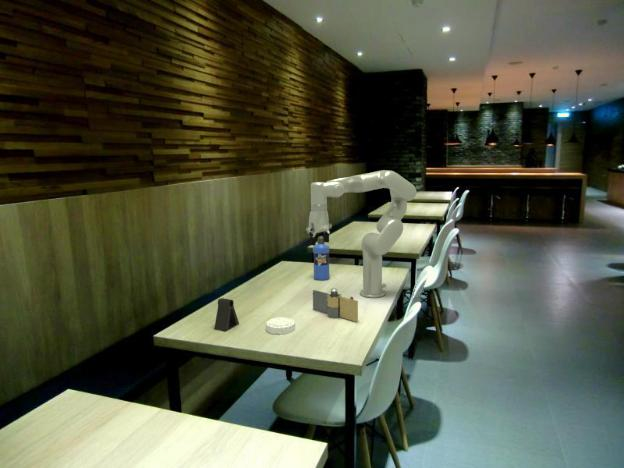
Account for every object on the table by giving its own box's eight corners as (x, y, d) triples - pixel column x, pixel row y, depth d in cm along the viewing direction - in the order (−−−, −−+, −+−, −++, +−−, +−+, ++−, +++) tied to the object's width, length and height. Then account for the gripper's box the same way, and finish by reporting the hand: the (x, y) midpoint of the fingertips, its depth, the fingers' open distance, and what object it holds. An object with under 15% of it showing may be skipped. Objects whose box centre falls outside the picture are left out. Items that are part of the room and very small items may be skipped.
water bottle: (329, 280, 250) (329, 237, 245) (313, 281, 250) (312, 237, 246) (329, 276, 259) (328, 234, 255) (313, 276, 259) (312, 235, 255)
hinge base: (318, 307, 204) (318, 288, 203) (344, 315, 194) (344, 295, 192) (309, 311, 200) (308, 291, 198) (335, 319, 189) (335, 298, 188)
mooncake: (288, 336, 172) (288, 328, 172) (261, 333, 176) (260, 324, 176) (299, 325, 183) (299, 317, 183) (273, 322, 187) (273, 314, 187)
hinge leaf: (333, 311, 198) (333, 292, 197) (361, 319, 188) (361, 299, 186) (324, 315, 194) (324, 295, 192) (352, 323, 183) (352, 303, 182)
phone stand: (225, 331, 178) (224, 303, 176) (214, 329, 181) (212, 301, 179) (239, 324, 186) (238, 297, 184) (228, 322, 188) (226, 295, 186)
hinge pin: (334, 313, 196) (333, 288, 194) (339, 315, 194) (339, 289, 192) (329, 315, 194) (329, 289, 192) (335, 317, 192) (334, 290, 190)
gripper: (325, 206, 216) (325, 240, 219) (300, 209, 204) (301, 245, 207) (336, 207, 211) (337, 241, 214) (312, 210, 199) (313, 247, 202)
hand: (319, 243), depth 210 cm, fingers open, 9 cm apart
